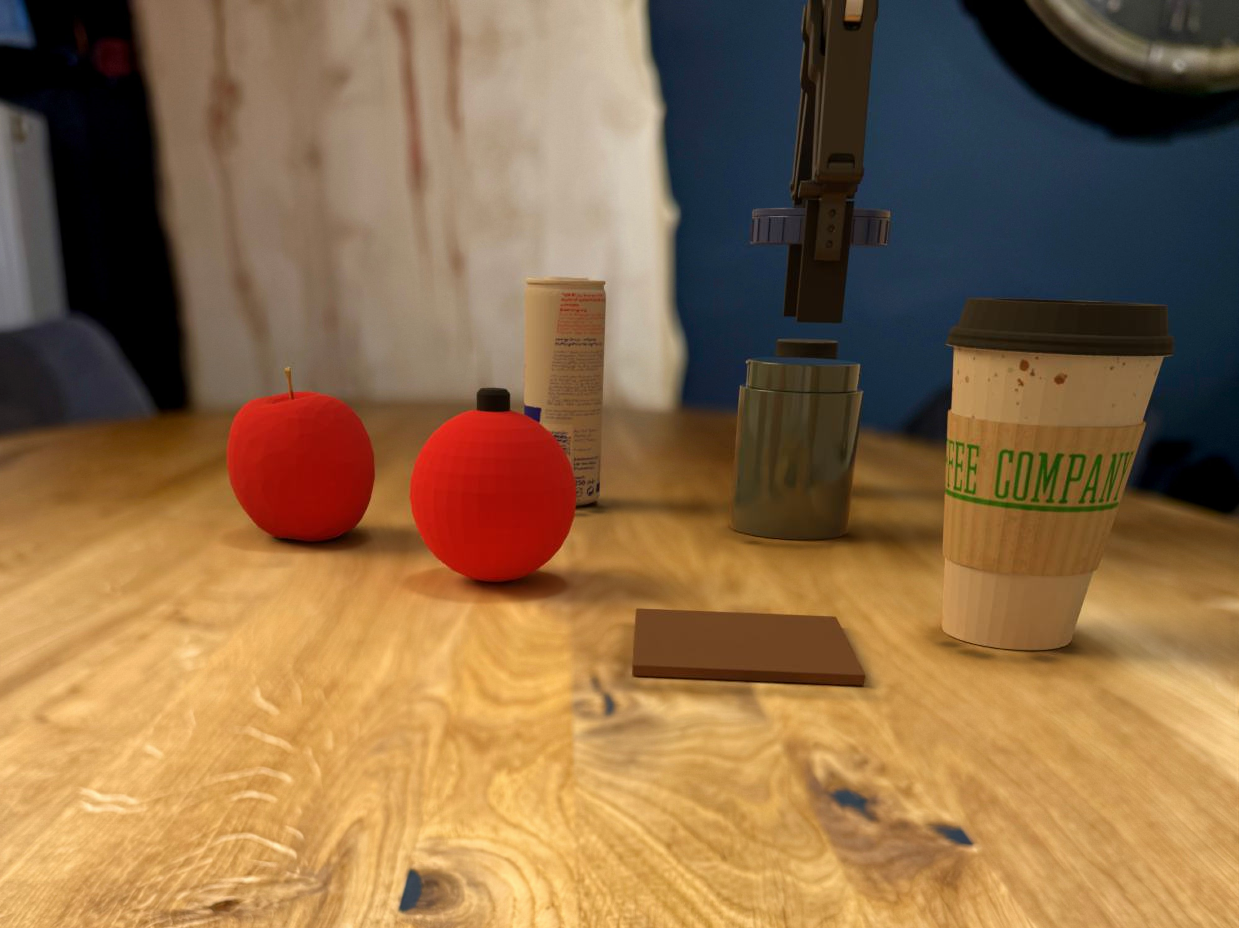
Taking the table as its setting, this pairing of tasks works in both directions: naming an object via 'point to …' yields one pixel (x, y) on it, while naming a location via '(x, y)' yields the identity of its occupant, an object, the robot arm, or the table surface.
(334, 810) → the table surface
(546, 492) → the ornament
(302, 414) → the fruit
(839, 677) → the coaster
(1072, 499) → the coffee cup
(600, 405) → the beverage can
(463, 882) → the table surface
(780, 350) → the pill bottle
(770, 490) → the jar
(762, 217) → the lid
